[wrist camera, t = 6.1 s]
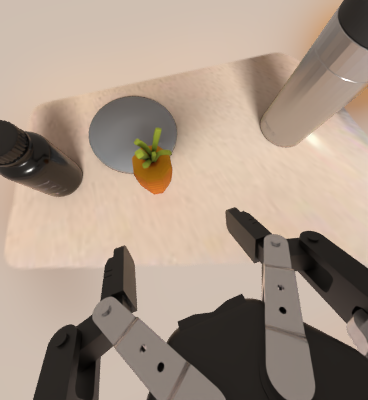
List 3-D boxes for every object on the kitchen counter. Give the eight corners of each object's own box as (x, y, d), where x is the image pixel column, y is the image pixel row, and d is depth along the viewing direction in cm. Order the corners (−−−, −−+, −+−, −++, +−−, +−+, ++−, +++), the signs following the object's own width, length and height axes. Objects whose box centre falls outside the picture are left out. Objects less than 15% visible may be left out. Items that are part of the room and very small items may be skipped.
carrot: (162, 172, 31) (155, 109, 17) (177, 194, 31) (183, 147, 16) (139, 186, 30) (108, 132, 16) (153, 209, 30) (136, 174, 15)
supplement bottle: (43, 162, 30) (-35, 112, 19) (84, 159, 31) (31, 108, 20) (40, 200, 29) (-49, 169, 17) (83, 196, 29) (25, 164, 18)
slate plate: (162, 93, 36) (161, 88, 35) (188, 159, 32) (188, 157, 31) (83, 110, 34) (80, 106, 33) (101, 184, 30) (99, 182, 29)
